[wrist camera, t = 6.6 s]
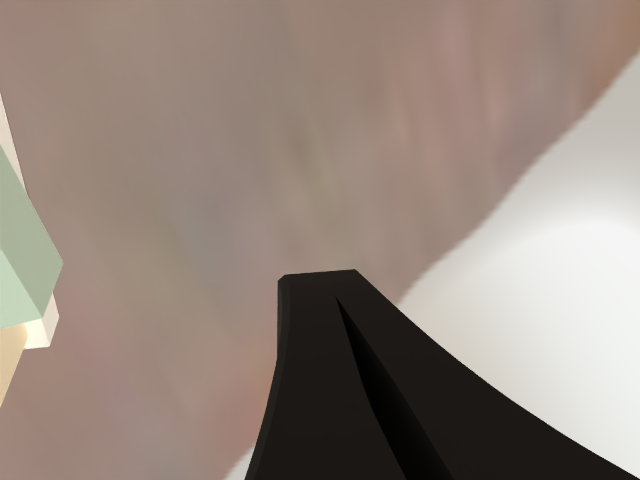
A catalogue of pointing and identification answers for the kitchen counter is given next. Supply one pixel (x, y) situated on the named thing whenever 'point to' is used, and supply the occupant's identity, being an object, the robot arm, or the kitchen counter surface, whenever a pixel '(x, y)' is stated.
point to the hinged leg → (23, 254)
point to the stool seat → (8, 343)
